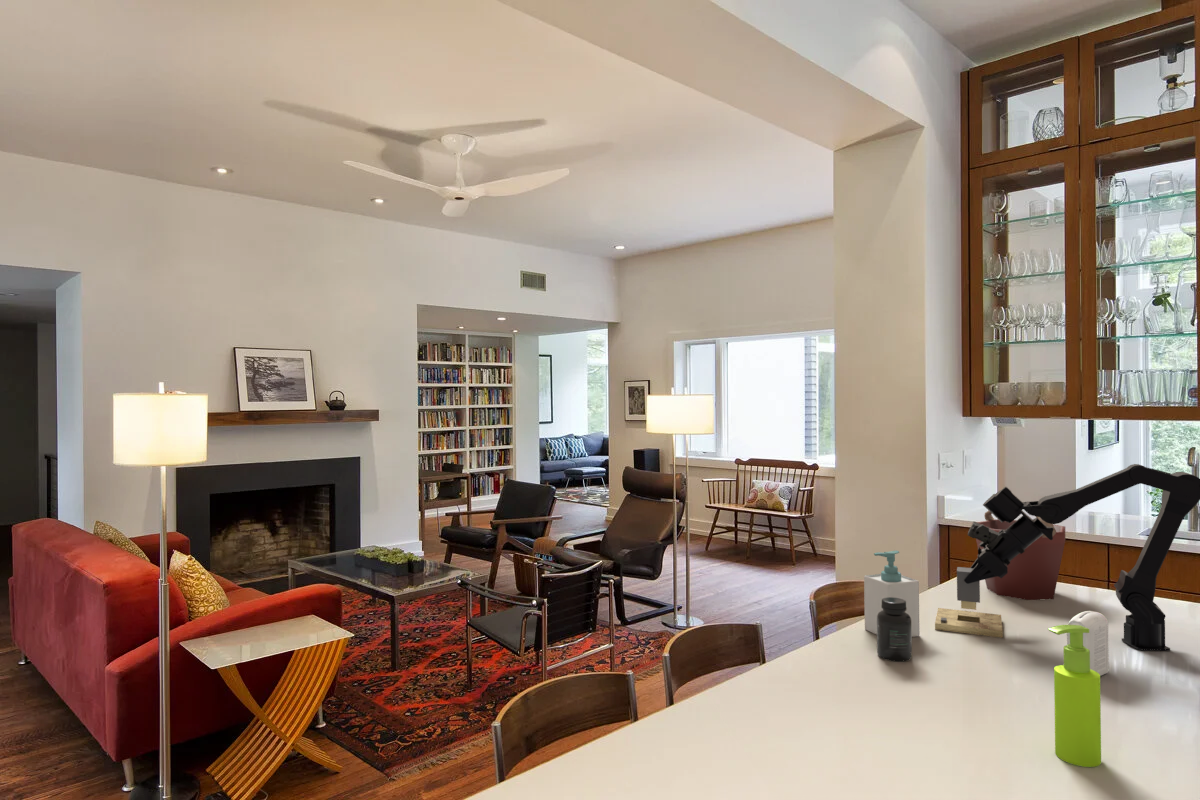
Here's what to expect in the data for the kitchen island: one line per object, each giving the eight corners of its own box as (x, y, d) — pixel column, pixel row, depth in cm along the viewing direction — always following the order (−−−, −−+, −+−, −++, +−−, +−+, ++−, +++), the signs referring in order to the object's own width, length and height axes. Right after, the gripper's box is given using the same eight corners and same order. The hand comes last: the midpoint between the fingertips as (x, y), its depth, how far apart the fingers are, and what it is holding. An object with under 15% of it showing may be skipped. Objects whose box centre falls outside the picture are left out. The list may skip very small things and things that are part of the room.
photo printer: (1088, 666, 149) (1087, 605, 149) (1112, 672, 145) (1111, 610, 145) (1063, 677, 143) (1063, 614, 143) (1088, 684, 139) (1087, 619, 139)
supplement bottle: (875, 649, 160) (875, 595, 160) (909, 652, 158) (908, 596, 158) (878, 660, 153) (878, 603, 153) (914, 663, 151) (913, 605, 151)
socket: (1001, 620, 179) (1001, 612, 179) (1002, 637, 166) (1002, 628, 166) (938, 613, 185) (938, 605, 185) (935, 629, 173) (934, 620, 173)
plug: (980, 605, 177) (979, 568, 177) (979, 611, 173) (979, 573, 173) (957, 603, 179) (957, 566, 179) (957, 608, 175) (956, 571, 175)
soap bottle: (863, 629, 174) (862, 549, 174) (894, 625, 176) (893, 546, 176) (888, 640, 165) (887, 556, 165) (920, 636, 168) (919, 553, 168)
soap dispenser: (1040, 749, 114) (1038, 621, 114) (1081, 747, 114) (1080, 619, 114) (1067, 768, 108) (1065, 633, 108) (1111, 766, 109) (1109, 631, 109)
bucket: (965, 580, 219) (964, 496, 219) (1045, 581, 216) (1044, 497, 216) (998, 603, 194) (997, 509, 194) (1088, 605, 191) (1087, 509, 191)
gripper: (989, 506, 182) (941, 547, 187) (989, 517, 165) (937, 561, 171) (1026, 540, 178) (976, 581, 183) (1030, 555, 162) (975, 599, 167)
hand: (965, 579), depth 176 cm, fingers closed on plug, 5 cm apart
